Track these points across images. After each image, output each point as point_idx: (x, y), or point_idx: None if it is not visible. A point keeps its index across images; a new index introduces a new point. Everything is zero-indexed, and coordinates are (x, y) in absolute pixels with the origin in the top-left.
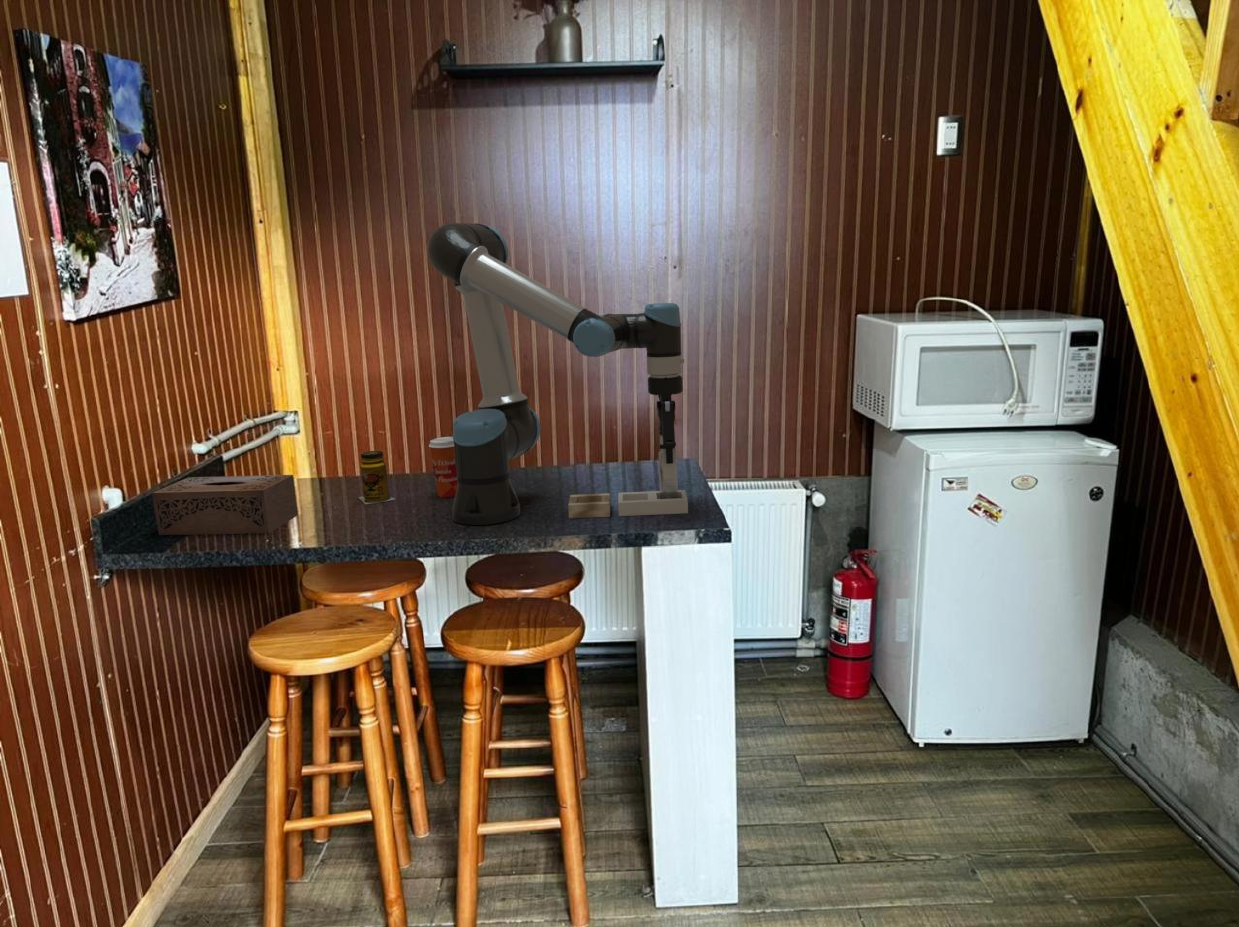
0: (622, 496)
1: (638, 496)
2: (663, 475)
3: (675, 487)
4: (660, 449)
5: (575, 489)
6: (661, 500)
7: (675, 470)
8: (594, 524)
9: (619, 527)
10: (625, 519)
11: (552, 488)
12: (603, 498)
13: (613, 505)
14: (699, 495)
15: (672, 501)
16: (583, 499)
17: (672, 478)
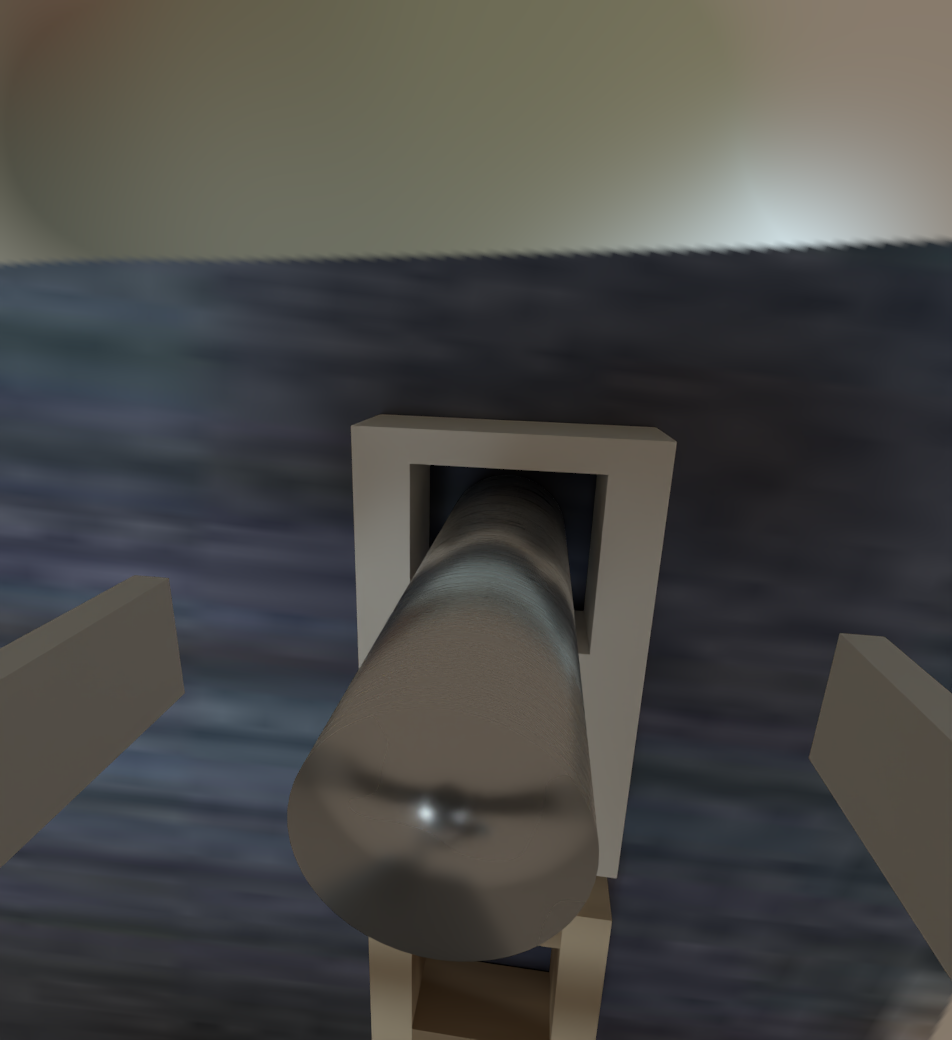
0: None
1: None
2: (824, 776)
3: (552, 544)
4: (47, 820)
5: (59, 921)
6: (633, 631)
7: (940, 694)
8: (727, 926)
9: (834, 833)
10: (681, 788)
11: (43, 996)
12: None
13: None
14: (203, 289)
15: (660, 555)
16: (415, 986)
17: (571, 605)
